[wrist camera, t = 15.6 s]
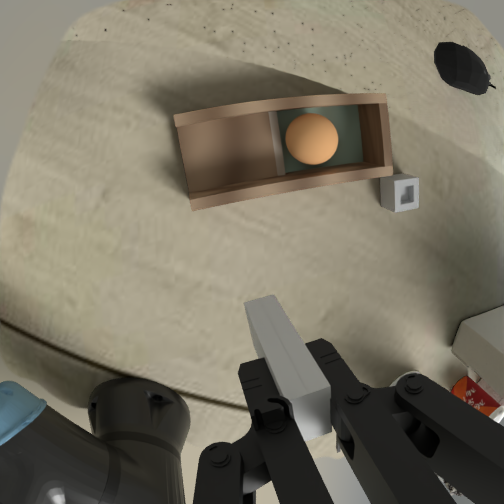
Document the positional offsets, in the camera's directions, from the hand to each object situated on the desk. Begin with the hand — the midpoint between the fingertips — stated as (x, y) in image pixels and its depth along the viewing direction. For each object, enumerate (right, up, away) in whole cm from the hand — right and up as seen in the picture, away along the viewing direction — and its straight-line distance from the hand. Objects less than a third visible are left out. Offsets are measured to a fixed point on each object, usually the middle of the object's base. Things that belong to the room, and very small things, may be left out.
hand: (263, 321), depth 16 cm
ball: (+5, +14, +13) cm, 20 cm away
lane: (+3, +14, +15) cm, 21 cm away
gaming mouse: (+29, +29, +16) cm, 44 cm away
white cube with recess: (+16, +11, +20) cm, 28 cm away
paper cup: (+46, -27, +41) cm, 67 cm away
